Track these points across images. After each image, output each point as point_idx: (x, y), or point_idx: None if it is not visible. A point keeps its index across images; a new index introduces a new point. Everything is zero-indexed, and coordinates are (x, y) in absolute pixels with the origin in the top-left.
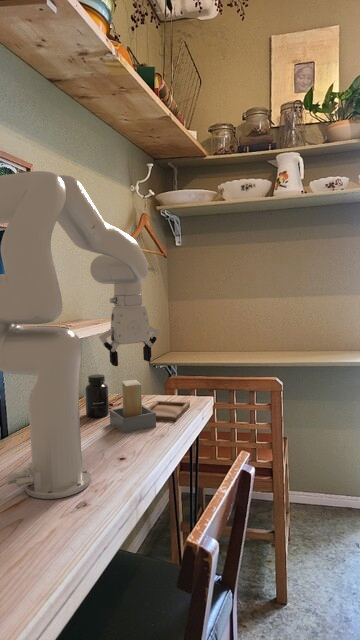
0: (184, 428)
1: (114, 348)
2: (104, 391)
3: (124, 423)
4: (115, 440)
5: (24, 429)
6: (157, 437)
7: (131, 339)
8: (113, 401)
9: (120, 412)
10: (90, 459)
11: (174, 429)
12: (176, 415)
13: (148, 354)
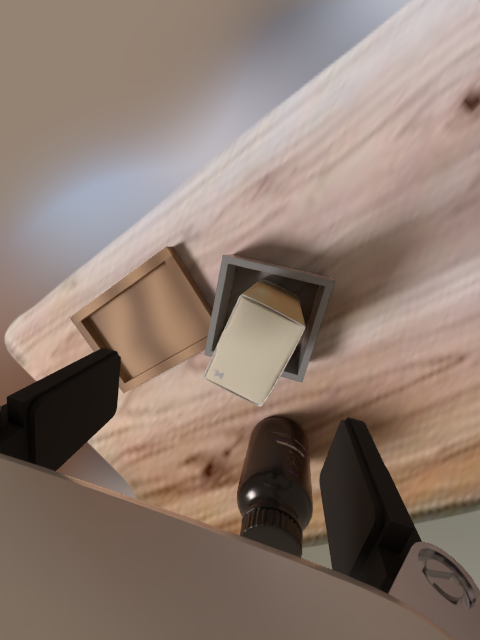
0: (186, 186)
1: (437, 589)
2: (268, 467)
3: (327, 278)
4: (377, 248)
5: (475, 491)
6: (283, 181)
7: (181, 607)
8: (190, 483)
9: None
10: None
11: (210, 200)
12: (156, 256)
13: (80, 373)
